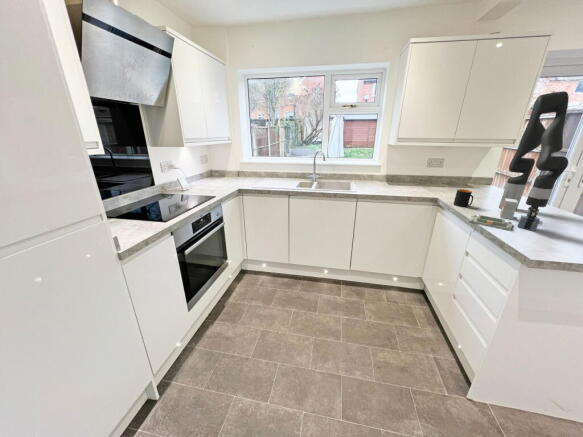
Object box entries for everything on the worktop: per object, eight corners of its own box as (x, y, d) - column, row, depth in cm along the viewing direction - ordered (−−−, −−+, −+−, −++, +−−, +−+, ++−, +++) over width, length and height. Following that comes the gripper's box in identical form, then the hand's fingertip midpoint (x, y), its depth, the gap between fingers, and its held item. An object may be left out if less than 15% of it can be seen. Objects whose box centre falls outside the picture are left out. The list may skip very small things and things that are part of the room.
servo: (514, 224, 128) (518, 213, 126) (538, 229, 122) (543, 217, 120) (514, 226, 125) (518, 215, 123) (538, 231, 119) (544, 219, 117)
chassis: (471, 216, 140) (472, 212, 139) (511, 224, 128) (513, 220, 127) (468, 222, 132) (469, 217, 131) (510, 230, 120) (512, 226, 119)
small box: (499, 214, 145) (505, 197, 141) (511, 216, 142) (517, 199, 138) (499, 217, 139) (505, 200, 135) (512, 219, 136) (518, 202, 132)
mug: (464, 208, 154) (469, 193, 151) (450, 203, 166) (454, 189, 162) (475, 208, 156) (480, 193, 152) (460, 203, 167) (464, 189, 163)
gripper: (528, 192, 125) (517, 222, 131) (528, 197, 115) (516, 229, 121) (548, 195, 120) (535, 225, 126) (550, 200, 110) (536, 233, 116)
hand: (526, 227), depth 124 cm, fingers closed on servo, 4 cm apart
